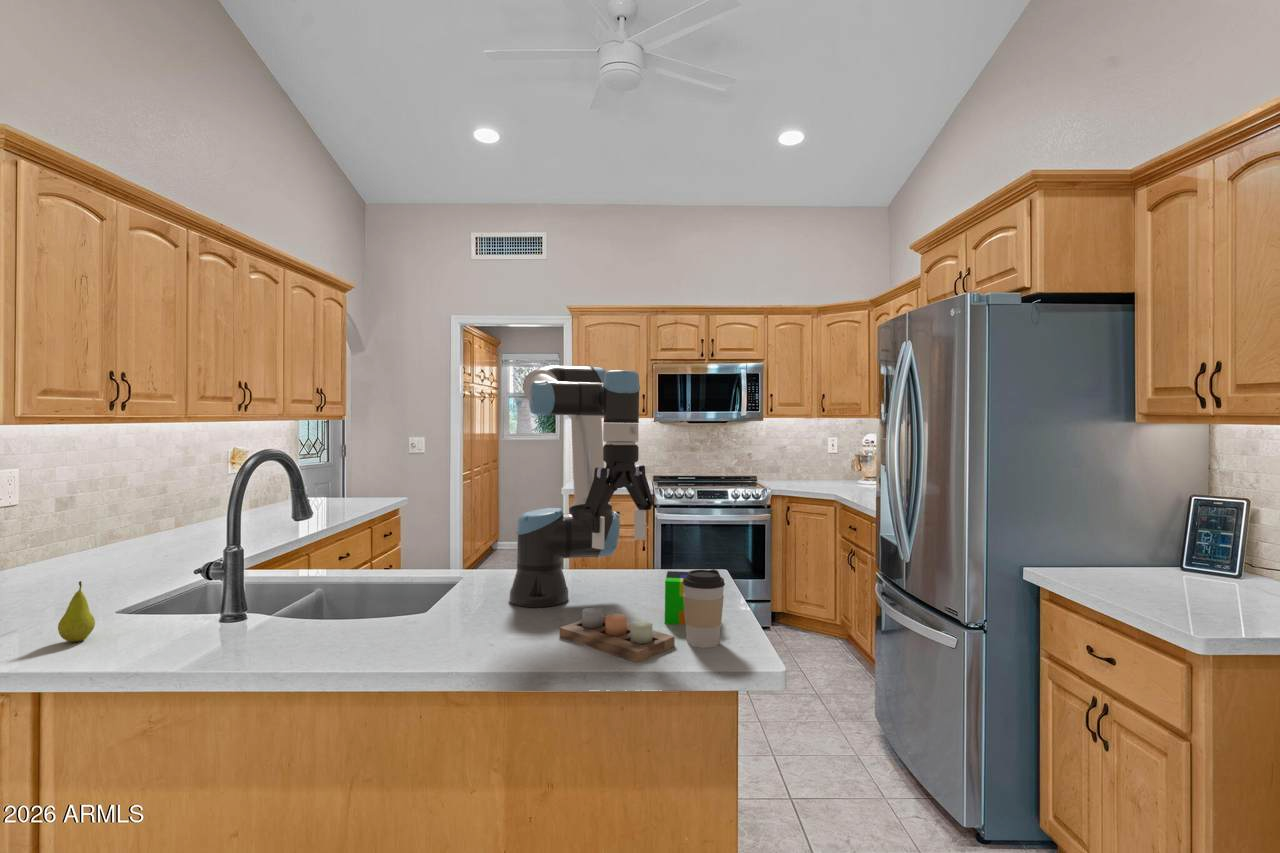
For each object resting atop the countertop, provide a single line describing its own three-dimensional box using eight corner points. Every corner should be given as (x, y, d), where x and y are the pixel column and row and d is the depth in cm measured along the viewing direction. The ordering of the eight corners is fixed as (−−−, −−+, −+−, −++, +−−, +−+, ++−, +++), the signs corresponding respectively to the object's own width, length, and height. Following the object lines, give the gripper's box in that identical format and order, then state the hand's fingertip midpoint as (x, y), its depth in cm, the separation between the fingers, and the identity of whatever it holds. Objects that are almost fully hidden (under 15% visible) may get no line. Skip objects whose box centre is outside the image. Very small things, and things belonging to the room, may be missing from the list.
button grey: (577, 626, 137) (577, 610, 137) (592, 621, 141) (592, 606, 141) (592, 630, 134) (592, 615, 134) (606, 625, 138) (606, 610, 138)
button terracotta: (601, 633, 133) (601, 617, 133) (615, 628, 136) (615, 612, 136) (616, 638, 130) (617, 622, 130) (630, 632, 133) (631, 617, 133)
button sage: (625, 641, 128) (626, 624, 128) (640, 635, 132) (640, 619, 132) (642, 646, 125) (643, 629, 125) (656, 640, 129) (656, 624, 129)
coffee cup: (696, 652, 127) (697, 578, 127) (673, 638, 135) (674, 569, 135) (732, 645, 131) (733, 573, 131) (708, 632, 139) (709, 565, 139)
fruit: (64, 648, 126) (65, 588, 126) (52, 643, 128) (53, 584, 128) (100, 639, 131) (100, 582, 131) (88, 634, 133) (88, 578, 133)
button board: (559, 636, 136) (559, 627, 136) (597, 623, 145) (598, 614, 145) (637, 662, 121) (637, 652, 121) (674, 646, 131) (674, 636, 131)
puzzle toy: (707, 613, 154) (708, 572, 154) (708, 626, 144) (708, 582, 144) (667, 611, 155) (667, 571, 155) (664, 624, 145) (665, 581, 145)
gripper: (593, 445, 121) (592, 555, 121) (669, 443, 140) (668, 537, 141) (566, 444, 126) (565, 550, 126) (643, 442, 145) (642, 533, 145)
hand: (619, 543), depth 133 cm, fingers open, 13 cm apart
